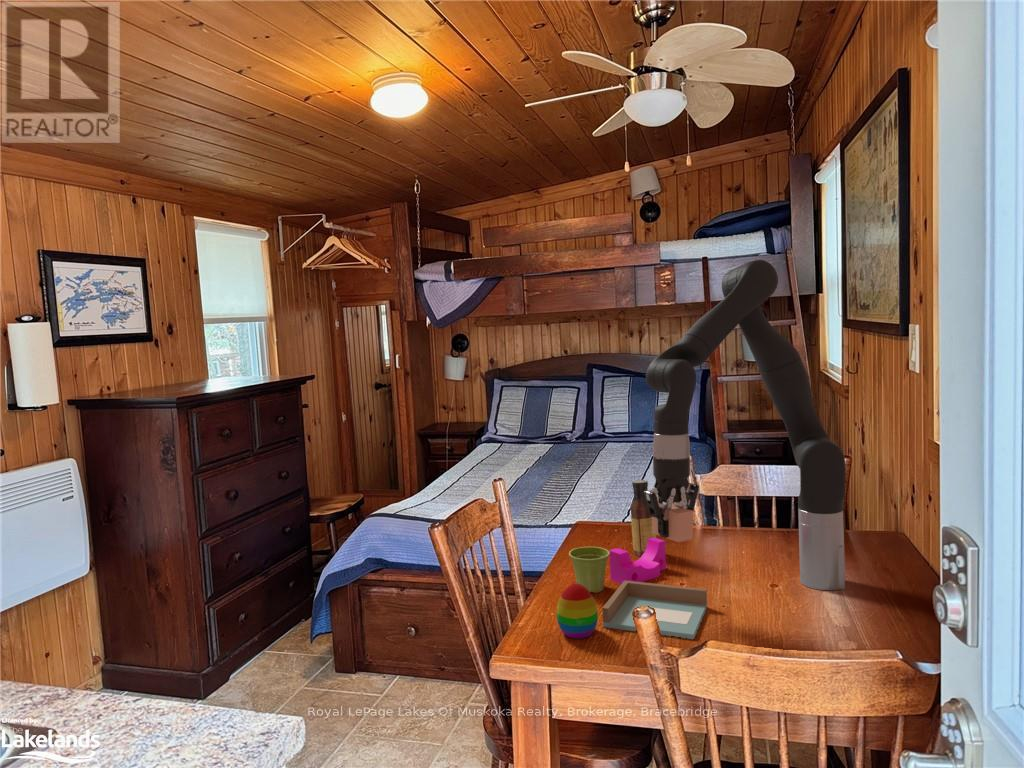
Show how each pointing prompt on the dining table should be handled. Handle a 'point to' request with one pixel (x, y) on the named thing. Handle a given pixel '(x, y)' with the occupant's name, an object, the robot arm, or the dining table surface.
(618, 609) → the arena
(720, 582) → the dining table surface
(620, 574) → the toy block
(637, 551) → the sauce bottle
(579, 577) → the plant pot
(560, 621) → the decorative egg
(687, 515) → the block
